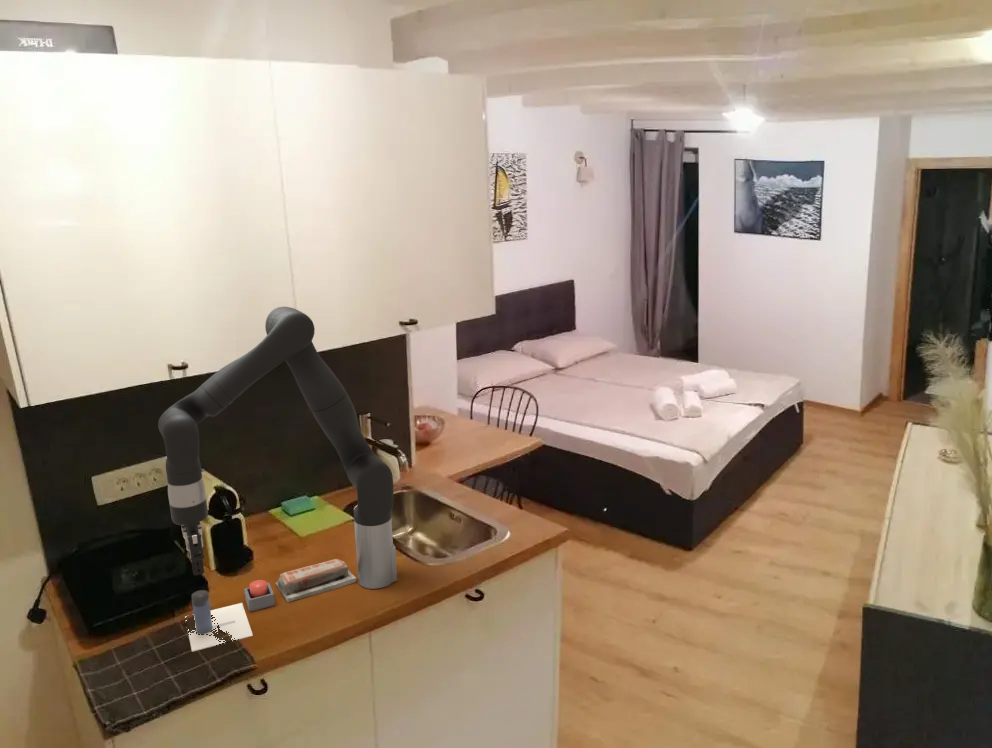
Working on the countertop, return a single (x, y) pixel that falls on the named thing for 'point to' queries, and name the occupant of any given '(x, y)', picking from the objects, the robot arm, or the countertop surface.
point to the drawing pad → (223, 627)
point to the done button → (258, 588)
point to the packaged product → (314, 579)
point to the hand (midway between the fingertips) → (196, 565)
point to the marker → (202, 611)
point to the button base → (259, 599)
